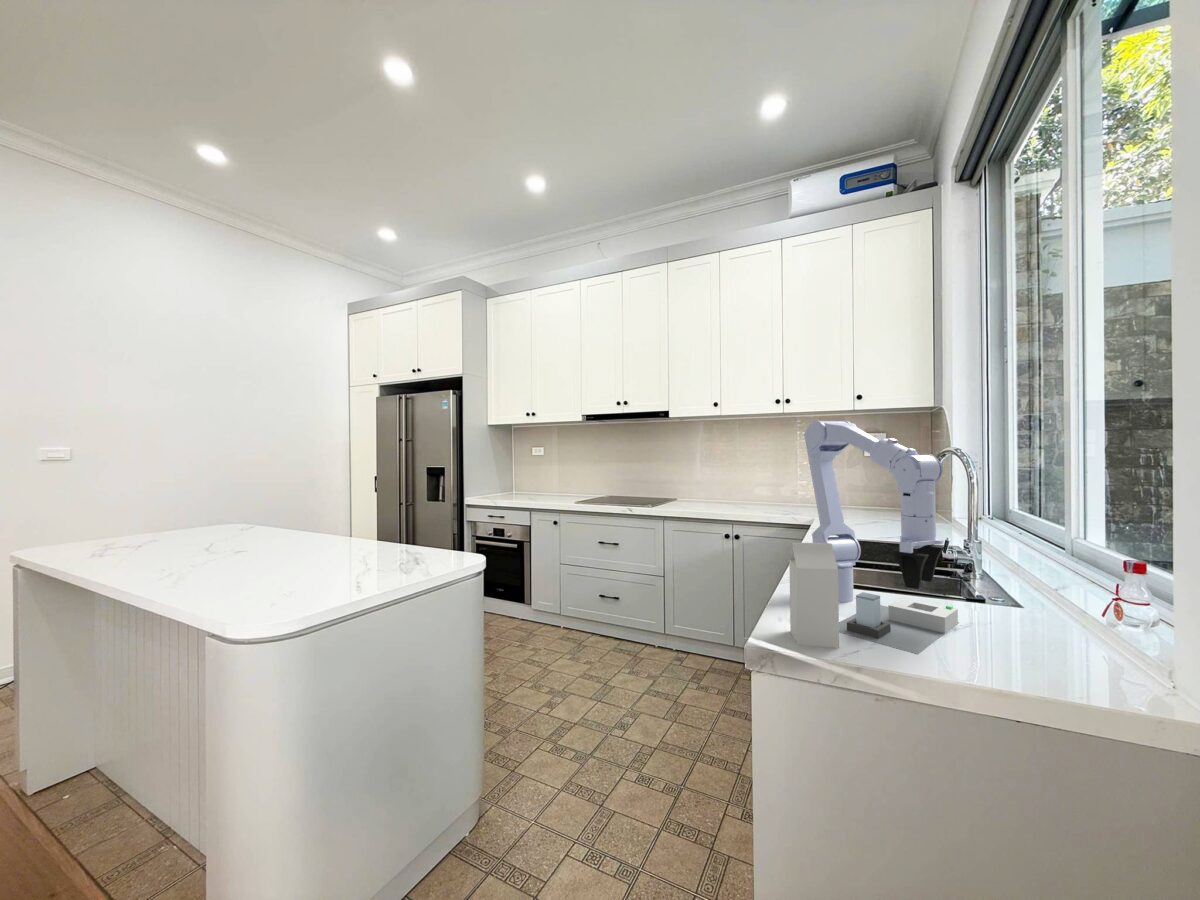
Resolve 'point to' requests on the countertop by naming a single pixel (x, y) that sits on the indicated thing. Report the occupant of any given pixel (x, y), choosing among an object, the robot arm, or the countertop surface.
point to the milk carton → (814, 595)
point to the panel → (905, 625)
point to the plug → (868, 610)
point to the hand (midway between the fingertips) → (919, 584)
